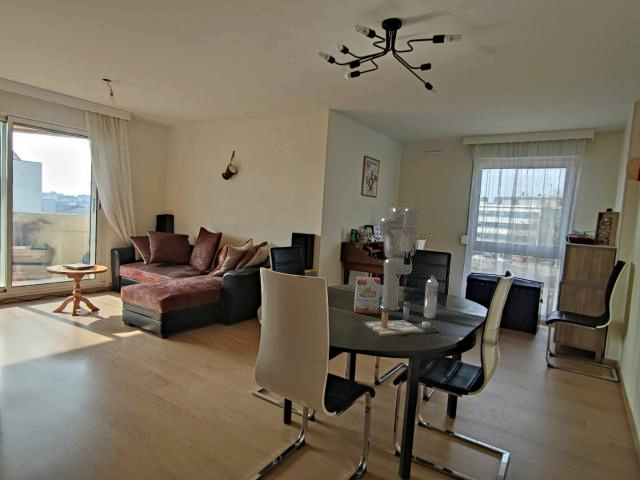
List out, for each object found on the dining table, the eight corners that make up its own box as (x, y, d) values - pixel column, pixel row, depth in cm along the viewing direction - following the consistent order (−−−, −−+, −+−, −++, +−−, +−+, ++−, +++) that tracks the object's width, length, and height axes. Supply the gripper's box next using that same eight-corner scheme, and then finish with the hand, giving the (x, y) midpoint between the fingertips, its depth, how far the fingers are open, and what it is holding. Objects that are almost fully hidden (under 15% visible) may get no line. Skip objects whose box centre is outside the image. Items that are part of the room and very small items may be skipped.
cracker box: (354, 312, 219) (357, 277, 217) (353, 310, 225) (356, 276, 223) (378, 314, 219) (381, 279, 218) (376, 311, 225) (379, 277, 224)
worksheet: (363, 323, 198) (363, 321, 198) (404, 322, 206) (404, 319, 206) (380, 335, 180) (380, 333, 180) (424, 333, 188) (424, 330, 188)
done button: (419, 328, 195) (420, 321, 195) (427, 327, 197) (427, 321, 196) (424, 331, 191) (425, 324, 191) (432, 330, 192) (432, 323, 192)
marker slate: (401, 319, 212) (402, 302, 211) (406, 319, 213) (407, 301, 212) (404, 321, 208) (405, 303, 208) (409, 320, 209) (411, 303, 209)
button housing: (416, 328, 196) (416, 323, 196) (427, 327, 198) (427, 323, 198) (424, 332, 189) (424, 327, 189) (435, 331, 192) (436, 327, 192)
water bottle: (427, 319, 215) (430, 276, 213) (420, 315, 222) (424, 274, 220) (437, 318, 217) (441, 276, 215) (431, 315, 223) (434, 274, 222)
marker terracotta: (379, 326, 191) (381, 307, 190) (385, 326, 192) (386, 307, 191) (382, 328, 188) (384, 309, 187) (388, 328, 189) (390, 308, 188)
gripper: (396, 230, 208) (393, 262, 210) (411, 232, 194) (408, 266, 196) (407, 230, 211) (405, 262, 212) (423, 232, 197) (420, 267, 198)
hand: (406, 264), depth 204 cm, fingers closed
